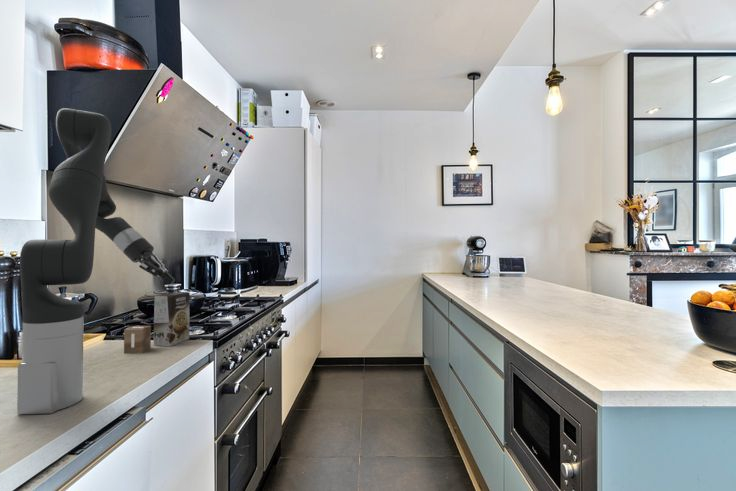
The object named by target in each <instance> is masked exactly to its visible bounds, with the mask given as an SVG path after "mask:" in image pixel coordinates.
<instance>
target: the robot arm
mask: <svg viewBox="0 0 736 491" xmlns="http://www.w3.org/2000/svg"><path fill="white" fill-rule="evenodd" d="M55 128H56V132H57V136H58V141H59V142H60V144H61V147H62V149H63V151H64V153H65V156H66V159H65V160H63V161H62V162H61V163H60V164H59V165H57V166H56V167H55V169H54V171H53V174H52V176H51V180H50V185H49V188H48V189H49V190H48V196H49V200H50V201H51V204H52V205H53V206H54V208H56V210H57V211H58V213H59V214H60V215H62V217H63V218H64V219H65V220H66V221H67V223H68V225H69V226H70V227H71V229H72V231H73V233H74V235H75V236H74V238H73V239H30V240H27V241H26V242H25V243H24V244H23V246H22V247H21V251H20V256H19V272H20V284H21V285H20V287H21V311H22V339H21V340H22V341H21V345H22V347H21V348H22V349H21V354H22V355H21V357H22V358H21V362H20V363H19V364H18V365H17V389H16V390H17V397H16V399H17V403H16V405H17V407H16V409H17V411H16V414H17V415H35V414H37V415H39V414H52V413H55V412H56V411H59V410H62V409H65V408H68V407H71V406H73V405H75V404H77V403H79V402H80V401H81V400H83V398H84V395H83V394H84V393H83V392H84V390H83V388H84V317H85V316H84V314H85V313H84V309H85V308H84V304H83V303H82V302H80V301H79V300H74V299H69V298H65V297H61V296H60V295H56V294H54V293H53V292H52V291H50V289H49V287H48V286H65V285H81V284H82V285H83V284H85V283H86V282H88V281H89V279H90V277H91V275H92V272H93V268H94V259H95V258H94V257H95V241H96V240H95V238H96V229H97V230H98V231H100V232H101V233H102V234H104V235H106V236H107V237H108V239H110V240H111V241H112V242H113V243H114V245H115V246H116V247H117V248H118V249H119V250H120V252H122V253H123V254H124V255H125V256H126V257H127V258H128V259H129V260H130V261H131V262H132V263H140V265H138V267H139V268H140V269H142V270H143V271H145V272H147V273H149V274H150V275H152V276H154V277H159V278H160V279H162V280H163V281H164V282H165V283H166V284H167V285H173V283H175V281H176V278H175V277H173V276H172V274H171V273H169V271H170V268H169V266H168V264H167V262H166V260H165V259H161V260H160V258H159V257H158V256H157V254H154V253H153V252H154V250H155V248H154V246H153V245H152V244H151V243H150V242H149V241H148V240H147V239H146V238H145V237H144V236H143V235H142V234H141V233H140V232H138V230H136V229H134V227H132V226H131V224H129V223H128V222H127V221H126V220H125V219H124V218H122V217H121V216H115V217H110V216H112V215H113V214H114V213H115V212H116V210H117V205H116V204H115V202H114V200H113V199H112V197H111V195H110V194H109V191H108V186H107V179H106V176H105V174H104V171H105V170H104V168H105V163H106V159H107V154H108V151H109V147H110V143H111V139H112V125H111V122H110V120H109V118H108V117H107V116H105V115H104V114H101V113H97V112H93V111H86V110H80V109H74V108H63V107H62V108H60V109H59V110H57V113H56V117H55ZM83 147H84V149H83V150H82V148H83ZM108 217H110V218H108Z"/></svg>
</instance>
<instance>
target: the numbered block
mask: <svg viewBox="0 0 736 491" xmlns="http://www.w3.org/2000/svg"><path fill="white" fill-rule="evenodd" d="M123 334H124V335H123V354H143V353H145V352H146V351H149V350H150V349H151V348H152V336H151V335H152V325H133V326H131V327H128V328H125V329H124V330H123Z"/></svg>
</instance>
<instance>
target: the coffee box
mask: <svg viewBox="0 0 736 491" xmlns="http://www.w3.org/2000/svg"><path fill="white" fill-rule="evenodd" d="M190 295H191V292H183V291H182V292H181V291H180V292H179V291H177V292H168V293H162V294H156V295H154V308H153V309H154V311H153V312H154V313H153V342H152V343H153V346H162V347H171V346H172V347H173V346H174V345H175V346H176V345H177V344H179V343H183V342H185V341H188V340H190V307H191V306H190V303H191V302H190V297H191V296H190Z"/></svg>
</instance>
